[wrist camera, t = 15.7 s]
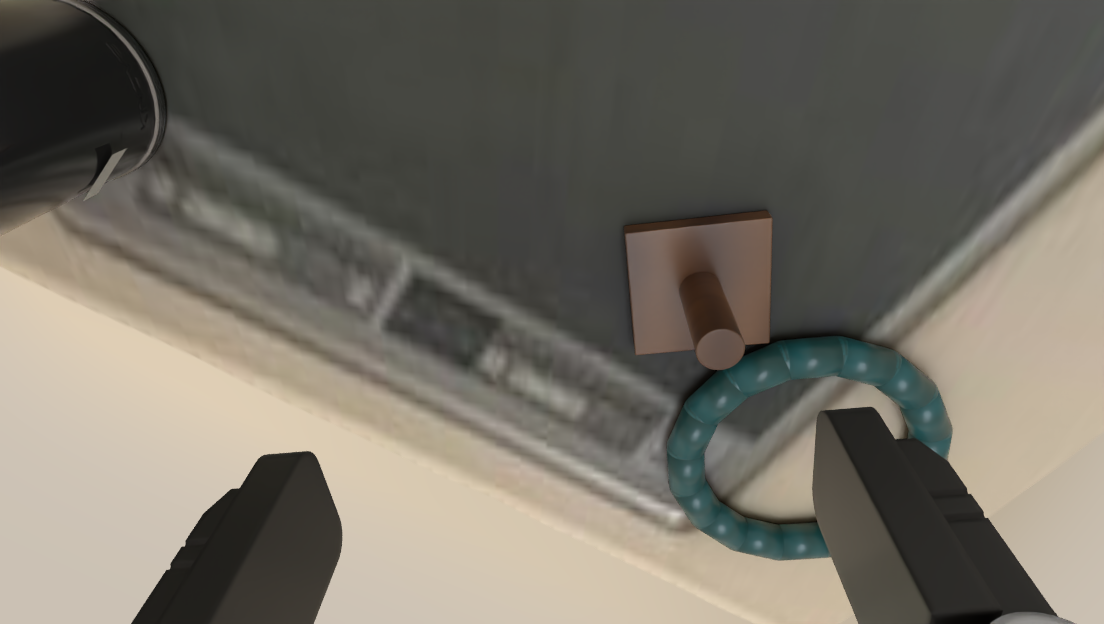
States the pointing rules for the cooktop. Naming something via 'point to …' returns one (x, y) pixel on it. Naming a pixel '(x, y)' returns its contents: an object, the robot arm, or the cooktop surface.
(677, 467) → the ring
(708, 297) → the ring toss
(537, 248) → the cooktop surface
